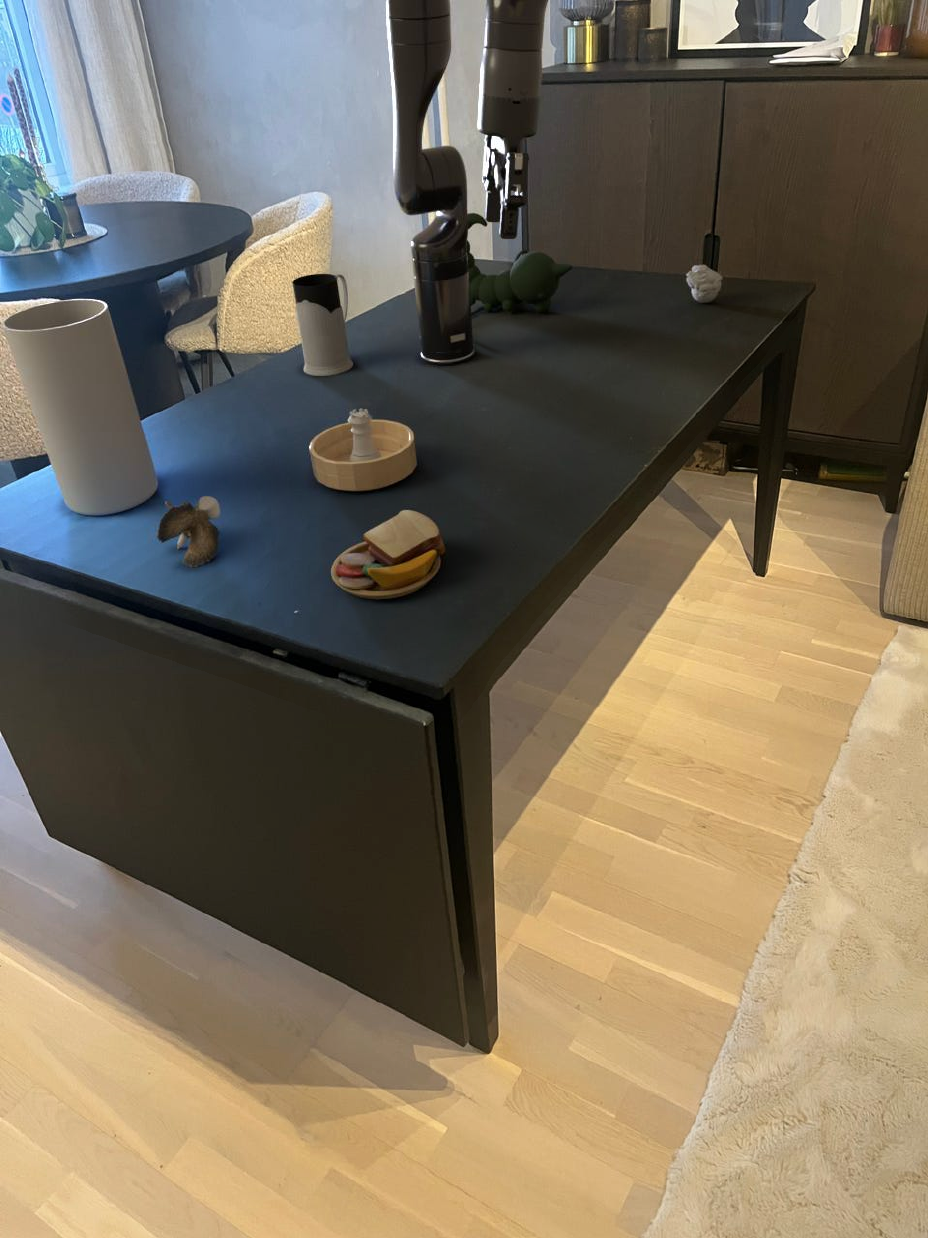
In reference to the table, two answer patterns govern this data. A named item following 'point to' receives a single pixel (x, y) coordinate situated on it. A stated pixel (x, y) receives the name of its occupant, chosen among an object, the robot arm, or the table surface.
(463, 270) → the robot arm
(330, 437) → the bowl
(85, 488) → the cylinder vase
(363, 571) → the toy sandwich meal
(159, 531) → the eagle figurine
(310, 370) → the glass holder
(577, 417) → the table surface
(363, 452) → the rook chess piece
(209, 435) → the table surface
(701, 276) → the white lumpy rounded piece
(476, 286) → the toy figurine
